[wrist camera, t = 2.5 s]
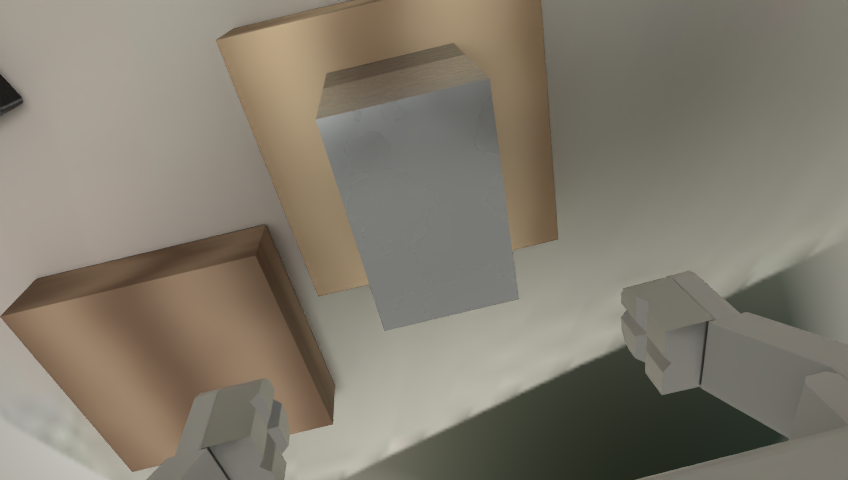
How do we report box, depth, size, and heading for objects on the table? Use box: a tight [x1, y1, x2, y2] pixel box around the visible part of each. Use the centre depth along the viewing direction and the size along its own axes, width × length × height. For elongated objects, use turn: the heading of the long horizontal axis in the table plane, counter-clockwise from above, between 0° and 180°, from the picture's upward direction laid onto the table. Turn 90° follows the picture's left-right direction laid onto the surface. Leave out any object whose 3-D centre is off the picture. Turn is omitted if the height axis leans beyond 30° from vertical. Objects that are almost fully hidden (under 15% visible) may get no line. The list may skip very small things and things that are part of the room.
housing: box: [316, 43, 519, 331], centre depth 19 cm, size 5×8×6 cm, turn 12°
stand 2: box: [216, 0, 558, 296], centre depth 22 cm, size 12×12×3 cm
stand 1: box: [0, 224, 335, 472], centre depth 27 cm, size 12×12×3 cm
